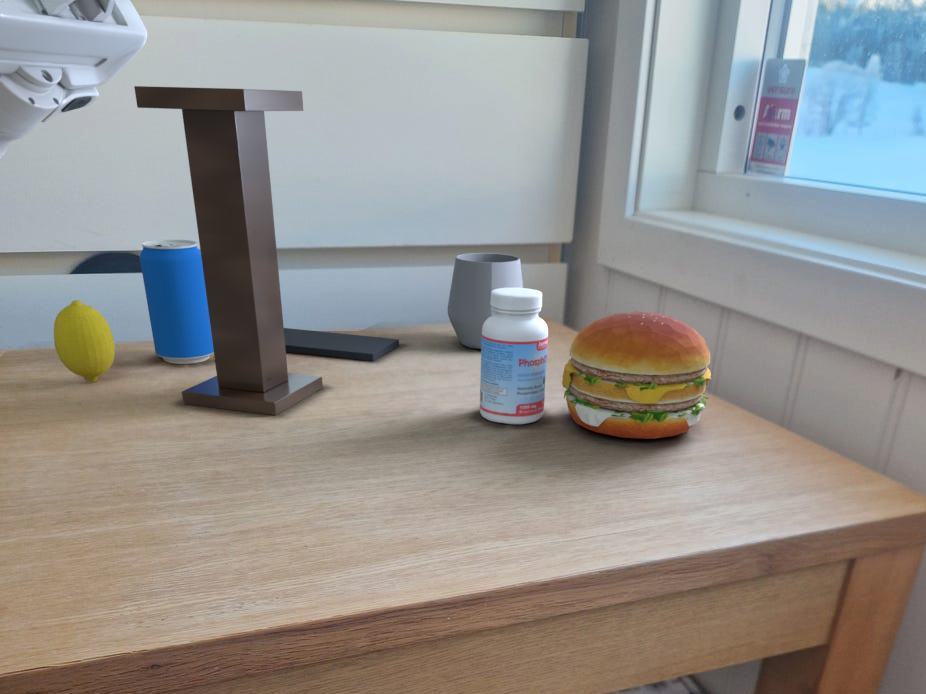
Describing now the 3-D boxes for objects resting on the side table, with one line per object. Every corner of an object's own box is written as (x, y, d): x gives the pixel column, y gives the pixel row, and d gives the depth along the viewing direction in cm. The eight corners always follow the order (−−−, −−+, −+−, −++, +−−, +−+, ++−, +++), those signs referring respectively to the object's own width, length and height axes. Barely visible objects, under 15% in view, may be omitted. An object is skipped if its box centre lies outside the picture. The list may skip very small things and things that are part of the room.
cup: (444, 336, 112) (445, 251, 107) (517, 336, 113) (521, 251, 108) (451, 354, 104) (451, 263, 99) (529, 354, 105) (533, 264, 100)
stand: (182, 403, 85) (133, 86, 71) (237, 378, 93) (202, 88, 80) (275, 415, 82) (243, 88, 69) (323, 387, 91) (302, 91, 77)
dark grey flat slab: (218, 344, 105) (218, 338, 105) (252, 331, 112) (252, 324, 111) (373, 361, 100) (373, 353, 100) (399, 345, 107) (399, 338, 107)
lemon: (106, 372, 94) (91, 293, 90) (130, 383, 91) (115, 301, 86) (54, 381, 90) (36, 299, 86) (77, 393, 87) (59, 308, 83)
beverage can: (191, 348, 103) (175, 237, 97) (228, 357, 100) (214, 243, 94) (144, 359, 99) (124, 243, 93) (181, 368, 96) (163, 249, 89)
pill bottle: (528, 430, 81) (535, 301, 75) (468, 420, 83) (470, 293, 77) (552, 412, 85) (561, 289, 79) (495, 403, 87) (499, 283, 82)
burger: (651, 460, 74) (666, 339, 69) (528, 424, 82) (533, 312, 77) (729, 426, 83) (749, 315, 78) (611, 396, 91) (622, 293, 85)
